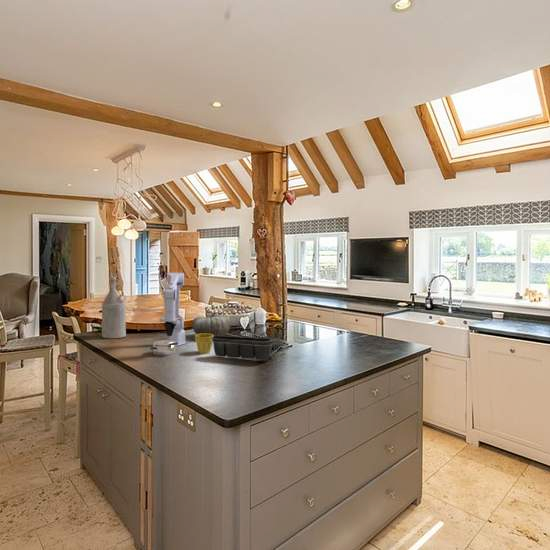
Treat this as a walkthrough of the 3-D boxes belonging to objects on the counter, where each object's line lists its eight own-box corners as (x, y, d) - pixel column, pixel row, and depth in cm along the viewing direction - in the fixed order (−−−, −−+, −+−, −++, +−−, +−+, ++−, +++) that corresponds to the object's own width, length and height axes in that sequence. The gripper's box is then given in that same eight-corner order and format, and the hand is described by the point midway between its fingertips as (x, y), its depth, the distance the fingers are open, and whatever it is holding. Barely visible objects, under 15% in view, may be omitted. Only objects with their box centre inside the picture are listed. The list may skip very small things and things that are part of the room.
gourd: (221, 338, 249) (218, 311, 251) (186, 341, 256) (184, 315, 258) (236, 335, 273) (234, 310, 274) (204, 338, 280) (202, 314, 281)
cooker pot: (169, 348, 230) (170, 340, 229) (183, 352, 223) (183, 343, 222) (144, 354, 216) (144, 345, 216) (158, 357, 209) (158, 348, 209)
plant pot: (209, 355, 217) (209, 337, 217) (192, 353, 219) (192, 336, 219) (216, 350, 227) (216, 334, 227) (199, 349, 229) (199, 333, 229)
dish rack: (208, 358, 210) (208, 336, 210) (239, 342, 253) (239, 323, 252) (268, 365, 201) (269, 341, 200) (290, 346, 243) (290, 327, 242)
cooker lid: (166, 341, 227) (166, 339, 227) (182, 343, 219) (182, 341, 219) (148, 344, 218) (148, 342, 218) (164, 347, 209) (164, 345, 209)
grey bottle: (117, 339, 251) (118, 277, 249) (96, 337, 257) (96, 276, 255) (131, 336, 263) (131, 276, 261) (111, 334, 269) (111, 276, 267)
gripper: (155, 310, 217) (155, 335, 217) (172, 313, 208) (172, 338, 209) (166, 309, 222) (165, 333, 223) (183, 312, 214) (182, 336, 215)
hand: (169, 335), depth 216 cm, fingers closed
